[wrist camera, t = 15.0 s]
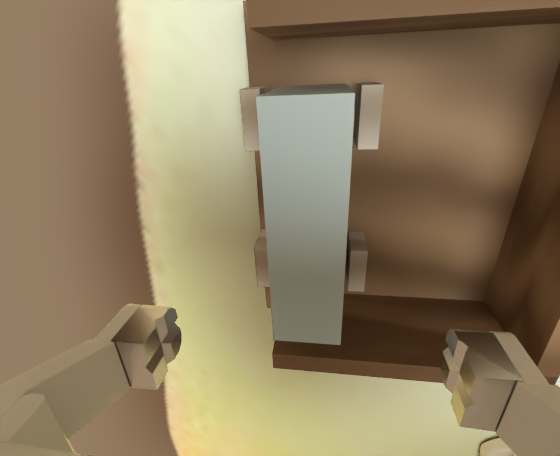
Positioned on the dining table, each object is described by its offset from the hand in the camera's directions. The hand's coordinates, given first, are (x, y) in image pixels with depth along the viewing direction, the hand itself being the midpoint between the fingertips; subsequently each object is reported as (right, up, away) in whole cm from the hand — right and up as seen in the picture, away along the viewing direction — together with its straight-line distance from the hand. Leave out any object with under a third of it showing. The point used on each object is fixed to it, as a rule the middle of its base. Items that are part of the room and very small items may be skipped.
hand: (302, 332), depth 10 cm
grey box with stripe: (+1, +6, +11) cm, 12 cm away
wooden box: (+6, +6, +11) cm, 14 cm away
